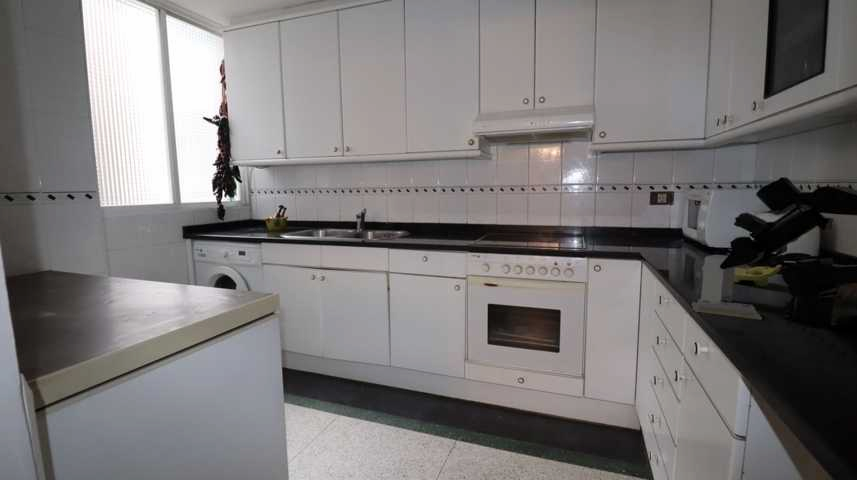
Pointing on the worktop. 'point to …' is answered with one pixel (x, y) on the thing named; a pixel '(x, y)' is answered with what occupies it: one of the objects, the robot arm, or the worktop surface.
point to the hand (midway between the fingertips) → (729, 265)
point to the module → (717, 280)
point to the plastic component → (755, 274)
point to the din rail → (726, 309)
